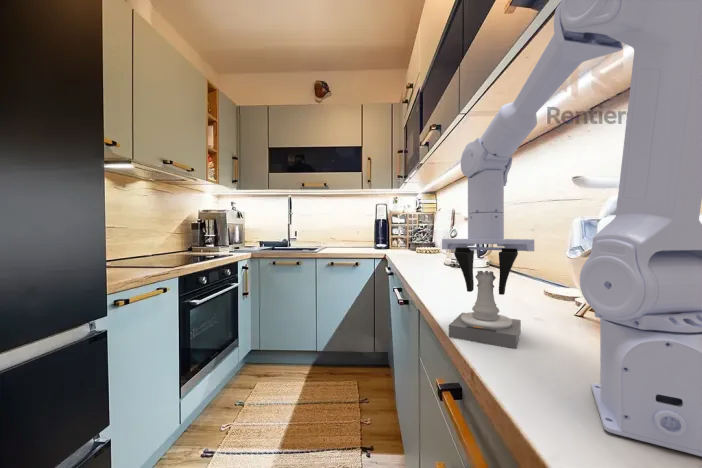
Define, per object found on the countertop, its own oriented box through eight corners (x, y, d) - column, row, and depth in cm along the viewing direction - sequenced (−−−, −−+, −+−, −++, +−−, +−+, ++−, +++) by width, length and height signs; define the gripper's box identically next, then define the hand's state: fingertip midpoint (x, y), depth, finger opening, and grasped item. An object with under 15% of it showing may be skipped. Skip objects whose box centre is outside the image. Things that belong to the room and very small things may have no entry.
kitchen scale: (516, 348, 47) (516, 330, 47) (448, 337, 52) (448, 320, 52) (520, 331, 55) (520, 315, 55) (462, 322, 60) (462, 308, 60)
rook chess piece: (491, 314, 56) (491, 270, 56) (505, 321, 51) (505, 273, 51) (467, 314, 55) (467, 270, 55) (478, 321, 51) (478, 273, 51)
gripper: (534, 213, 53) (535, 292, 53) (448, 216, 61) (449, 285, 61) (533, 210, 47) (533, 300, 47) (438, 214, 55) (438, 290, 55)
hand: (485, 292), depth 53 cm, fingers open, 4 cm apart
